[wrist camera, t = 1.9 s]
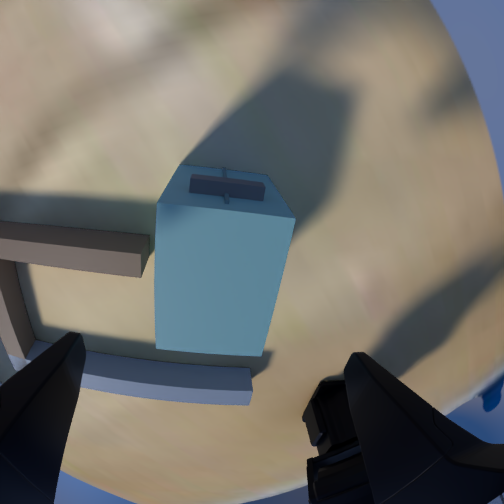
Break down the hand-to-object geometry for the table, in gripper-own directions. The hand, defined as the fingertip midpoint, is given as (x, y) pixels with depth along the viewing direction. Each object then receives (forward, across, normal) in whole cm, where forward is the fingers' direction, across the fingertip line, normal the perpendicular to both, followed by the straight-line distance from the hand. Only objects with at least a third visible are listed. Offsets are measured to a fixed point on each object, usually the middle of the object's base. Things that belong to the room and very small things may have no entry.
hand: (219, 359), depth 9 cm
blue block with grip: (+11, 0, 0) cm, 11 cm away
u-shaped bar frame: (+10, +7, +7) cm, 14 cm away
